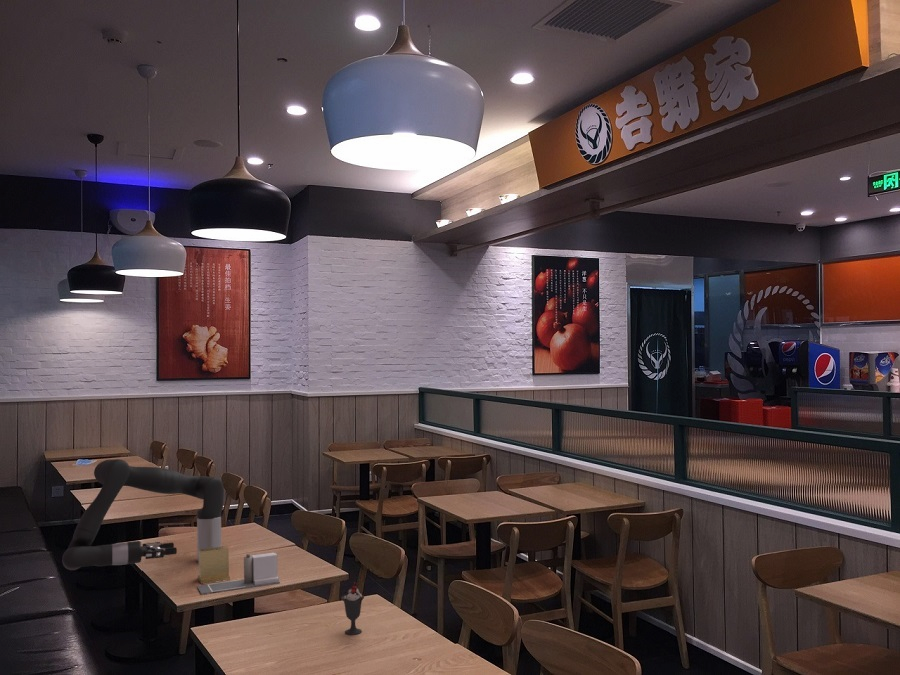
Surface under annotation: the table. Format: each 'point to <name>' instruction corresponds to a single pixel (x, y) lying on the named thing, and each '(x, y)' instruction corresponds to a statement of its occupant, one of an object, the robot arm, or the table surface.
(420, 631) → the table surface
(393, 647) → the table surface
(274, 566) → the hinge board
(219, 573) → the brass leaf
